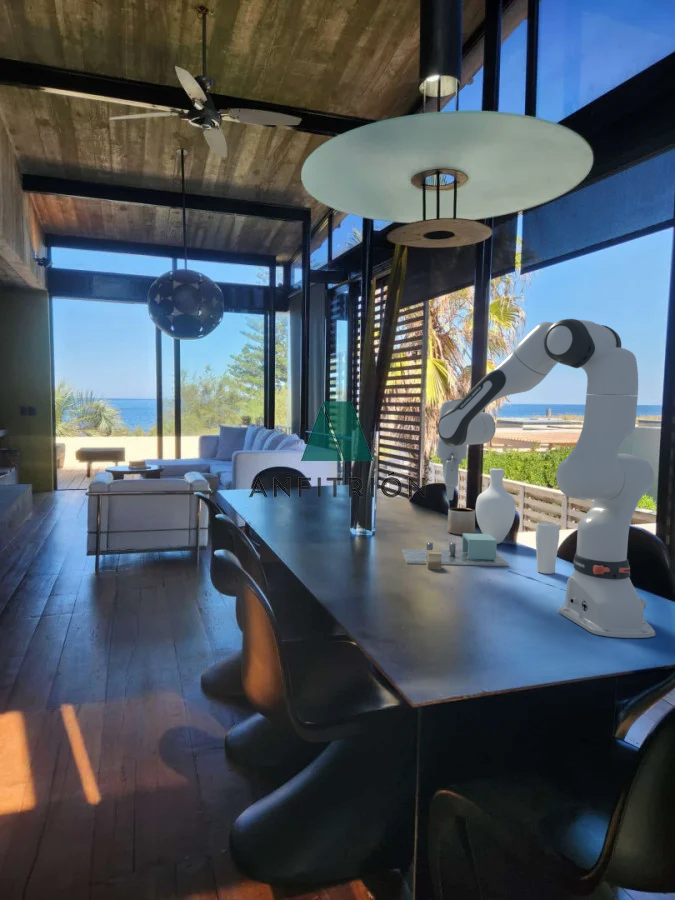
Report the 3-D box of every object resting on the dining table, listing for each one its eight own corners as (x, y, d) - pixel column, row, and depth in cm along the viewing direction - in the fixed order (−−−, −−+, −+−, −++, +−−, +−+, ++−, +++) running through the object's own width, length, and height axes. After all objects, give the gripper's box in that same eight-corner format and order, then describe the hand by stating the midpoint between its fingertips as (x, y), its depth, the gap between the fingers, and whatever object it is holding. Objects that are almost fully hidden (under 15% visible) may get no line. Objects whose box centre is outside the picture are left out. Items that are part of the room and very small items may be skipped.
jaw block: (441, 569, 180) (441, 553, 180) (428, 569, 180) (428, 553, 180) (439, 566, 184) (439, 550, 184) (426, 565, 184) (426, 550, 184)
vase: (499, 538, 229) (502, 466, 227) (522, 546, 215) (525, 470, 214) (467, 540, 224) (469, 467, 223) (488, 548, 211) (491, 470, 209)
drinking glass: (559, 576, 176) (561, 526, 175) (535, 574, 177) (537, 525, 176) (555, 570, 182) (557, 522, 181) (532, 568, 184) (534, 521, 183)
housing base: (507, 566, 186) (508, 550, 186) (406, 563, 187) (407, 547, 186) (495, 554, 202) (495, 539, 202) (402, 551, 202) (402, 537, 202)
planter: (477, 536, 232) (478, 512, 232) (449, 535, 233) (450, 511, 232) (471, 530, 243) (472, 507, 243) (445, 530, 243) (445, 507, 243)
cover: (496, 559, 189) (496, 540, 188) (468, 558, 189) (468, 539, 189) (488, 552, 199) (489, 534, 198) (462, 551, 199) (462, 533, 199)
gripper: (464, 456, 168) (461, 503, 170) (460, 450, 189) (458, 492, 190) (442, 455, 169) (439, 502, 171) (440, 449, 190) (438, 491, 191)
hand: (449, 497), depth 180 cm, fingers open, 8 cm apart
